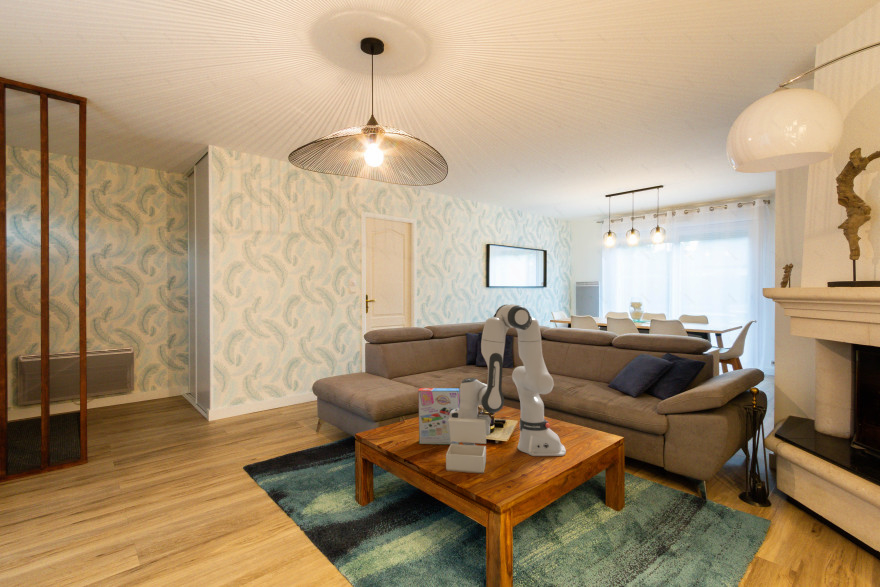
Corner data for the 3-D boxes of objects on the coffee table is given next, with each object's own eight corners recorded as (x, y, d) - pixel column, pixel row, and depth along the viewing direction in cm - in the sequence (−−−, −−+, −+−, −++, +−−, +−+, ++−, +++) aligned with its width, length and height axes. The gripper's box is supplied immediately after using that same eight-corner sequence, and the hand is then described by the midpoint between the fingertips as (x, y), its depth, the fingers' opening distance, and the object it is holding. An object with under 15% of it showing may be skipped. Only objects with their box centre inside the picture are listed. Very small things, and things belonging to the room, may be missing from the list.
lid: (486, 460, 184) (487, 446, 192) (484, 422, 177) (486, 410, 185) (451, 457, 187) (453, 444, 195) (448, 420, 180) (451, 408, 188)
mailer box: (485, 461, 182) (485, 446, 182) (483, 473, 171) (483, 456, 171) (450, 459, 186) (450, 443, 186) (446, 470, 174) (446, 454, 174)
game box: (460, 441, 208) (459, 388, 207) (459, 445, 202) (459, 390, 202) (420, 440, 210) (419, 387, 210) (418, 444, 204) (417, 390, 204)
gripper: (491, 413, 191) (490, 442, 191) (448, 409, 195) (448, 438, 195) (490, 417, 185) (489, 447, 184) (446, 413, 189) (445, 443, 189)
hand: (468, 443), depth 190 cm, fingers closed, pressing on lid
